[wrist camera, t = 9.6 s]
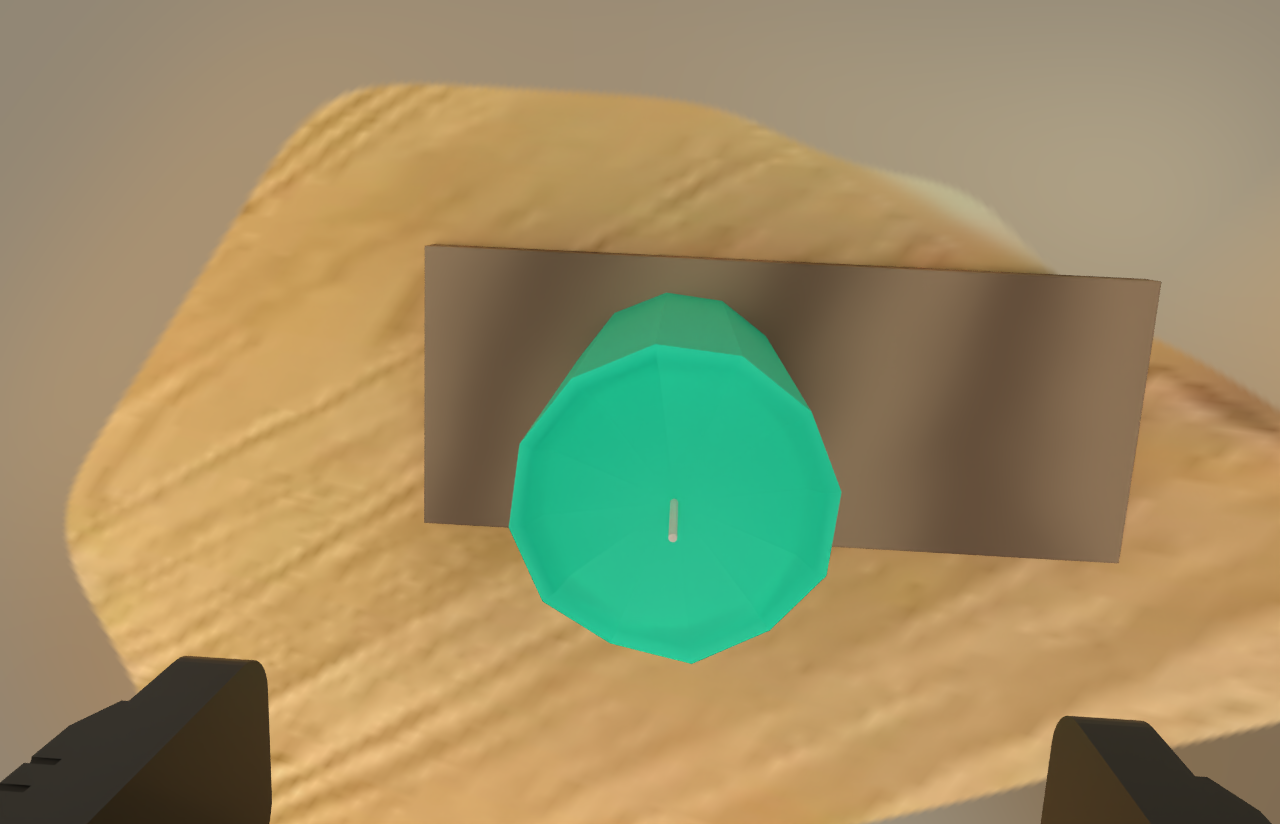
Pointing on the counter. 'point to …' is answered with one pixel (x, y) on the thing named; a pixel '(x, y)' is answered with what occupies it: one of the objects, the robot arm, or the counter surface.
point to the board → (829, 386)
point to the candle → (675, 484)
